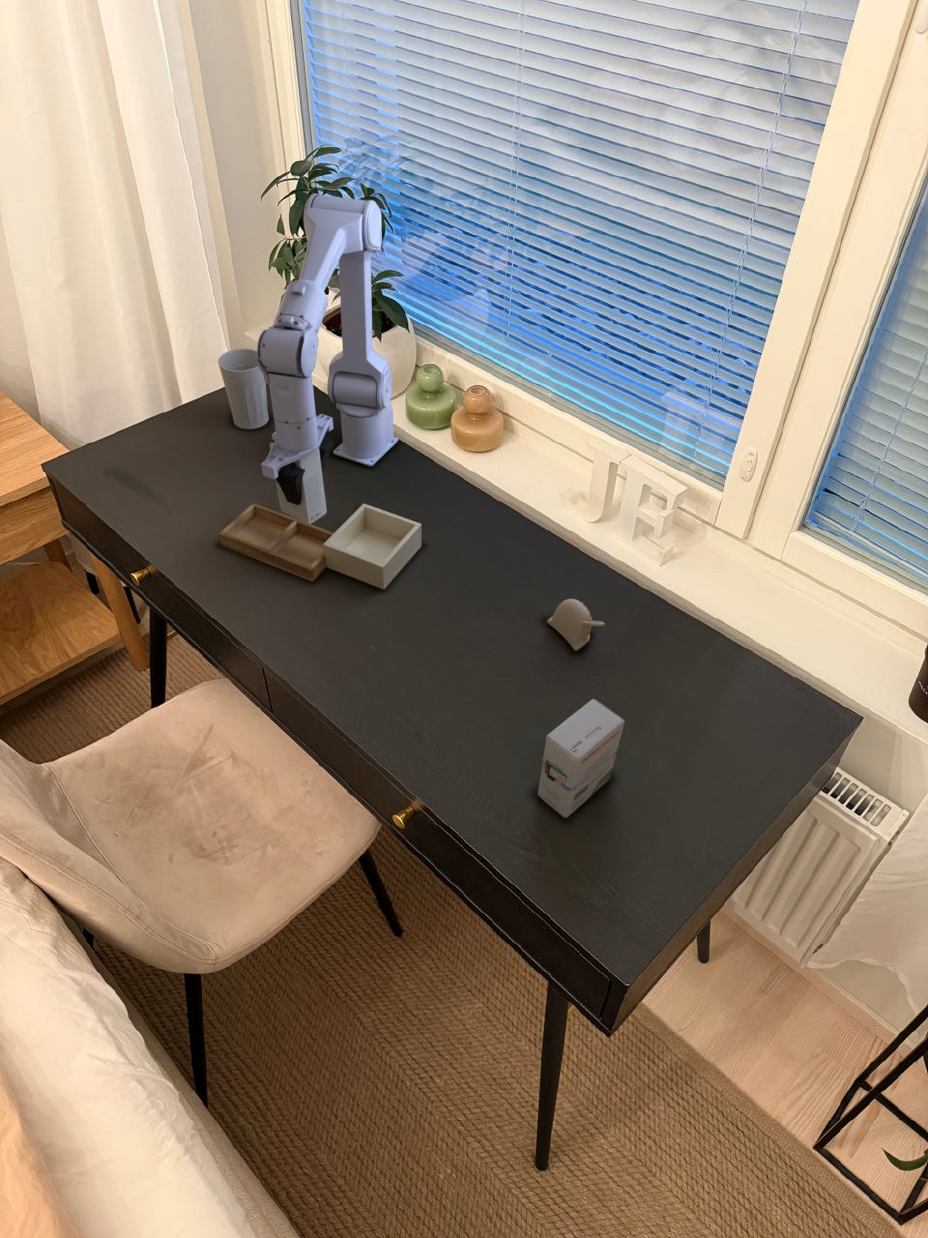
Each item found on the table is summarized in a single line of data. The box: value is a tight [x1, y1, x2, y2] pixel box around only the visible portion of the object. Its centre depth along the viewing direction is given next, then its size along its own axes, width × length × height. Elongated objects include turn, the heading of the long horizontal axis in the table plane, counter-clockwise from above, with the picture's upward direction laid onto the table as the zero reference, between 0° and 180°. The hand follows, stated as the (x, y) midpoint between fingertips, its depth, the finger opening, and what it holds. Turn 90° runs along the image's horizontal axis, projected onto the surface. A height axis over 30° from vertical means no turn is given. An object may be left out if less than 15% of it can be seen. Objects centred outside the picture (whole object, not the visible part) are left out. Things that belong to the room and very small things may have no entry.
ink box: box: [537, 698, 626, 819], centre depth 105 cm, size 8×5×12 cm, turn 134°
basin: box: [323, 503, 422, 590], centre depth 136 cm, size 11×10×4 cm
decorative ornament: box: [546, 598, 606, 652], centre depth 125 cm, size 4×8×5 cm, turn 32°
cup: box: [217, 348, 270, 430], centre depth 159 cm, size 8×8×12 cm
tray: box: [218, 502, 335, 583], centre depth 138 cm, size 9×17×2 cm, turn 63°
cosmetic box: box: [269, 440, 328, 525], centre depth 130 cm, size 6×4×12 cm
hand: (304, 492), depth 132 cm, fingers closed on cosmetic box, 4 cm apart
